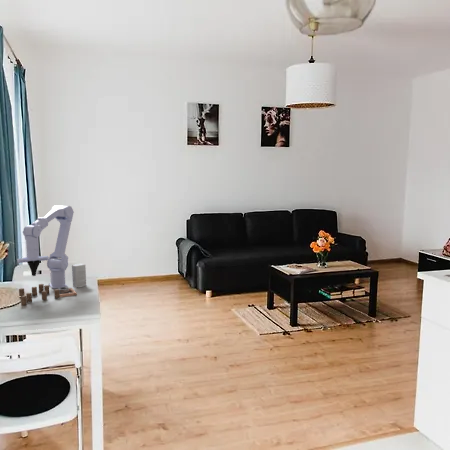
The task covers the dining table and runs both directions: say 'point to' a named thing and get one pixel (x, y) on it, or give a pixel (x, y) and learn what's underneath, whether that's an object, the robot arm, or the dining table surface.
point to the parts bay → (69, 293)
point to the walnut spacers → (42, 289)
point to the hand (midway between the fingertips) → (33, 275)
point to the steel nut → (63, 290)
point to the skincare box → (79, 275)
